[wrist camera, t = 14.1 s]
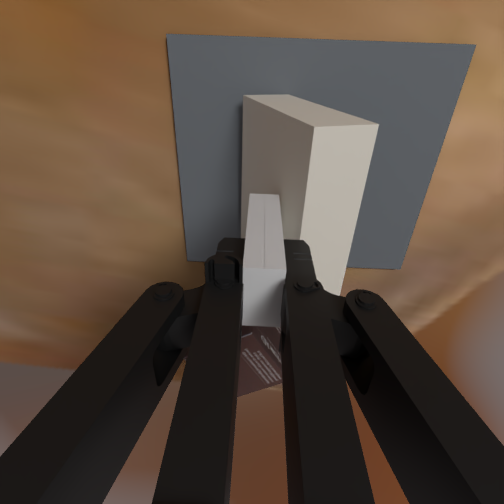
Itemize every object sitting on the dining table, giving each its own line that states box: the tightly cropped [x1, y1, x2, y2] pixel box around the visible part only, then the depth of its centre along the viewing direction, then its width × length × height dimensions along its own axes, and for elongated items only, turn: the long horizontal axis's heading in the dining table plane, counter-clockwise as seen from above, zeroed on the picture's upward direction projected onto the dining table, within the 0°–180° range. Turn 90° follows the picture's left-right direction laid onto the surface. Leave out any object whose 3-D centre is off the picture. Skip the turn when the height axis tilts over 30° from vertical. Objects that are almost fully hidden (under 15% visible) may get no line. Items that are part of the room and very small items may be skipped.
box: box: [184, 325, 282, 397], centre depth 28 cm, size 6×6×7 cm
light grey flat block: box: [241, 94, 379, 296], centre depth 19 cm, size 3×10×9 cm, turn 179°
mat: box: [166, 34, 476, 269], centre depth 23 cm, size 18×16×1 cm
